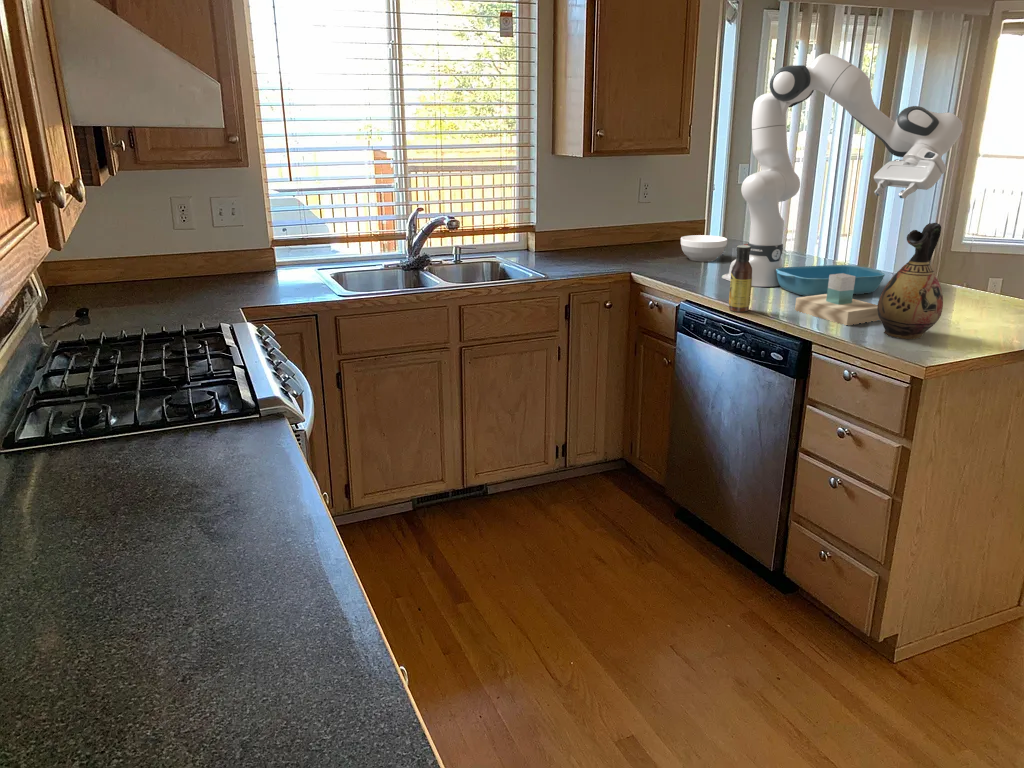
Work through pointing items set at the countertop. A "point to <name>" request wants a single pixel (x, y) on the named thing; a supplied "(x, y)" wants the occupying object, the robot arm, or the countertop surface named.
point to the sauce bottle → (741, 281)
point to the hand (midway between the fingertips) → (888, 195)
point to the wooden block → (837, 310)
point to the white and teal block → (840, 288)
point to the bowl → (703, 247)
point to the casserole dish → (826, 278)
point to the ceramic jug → (913, 290)
